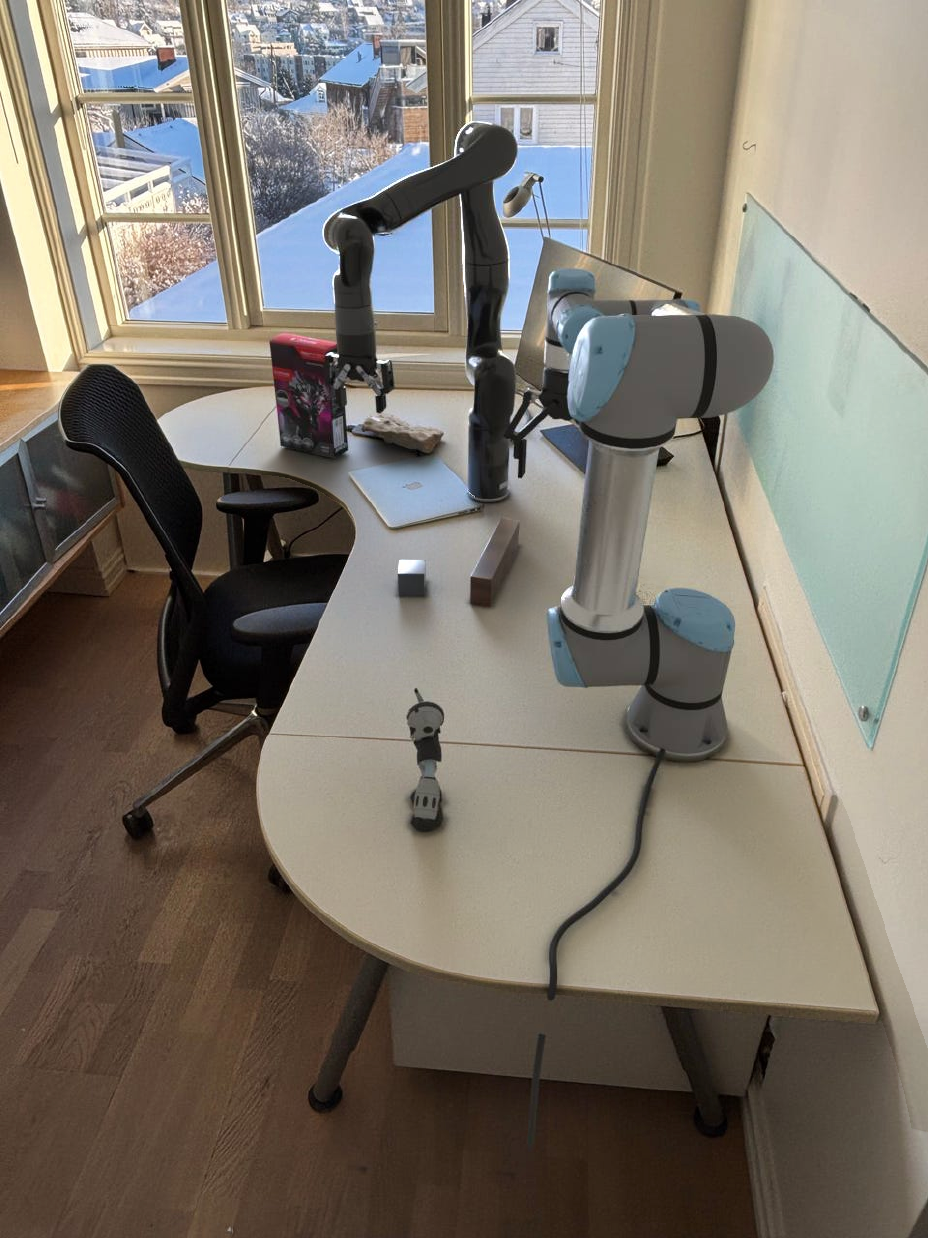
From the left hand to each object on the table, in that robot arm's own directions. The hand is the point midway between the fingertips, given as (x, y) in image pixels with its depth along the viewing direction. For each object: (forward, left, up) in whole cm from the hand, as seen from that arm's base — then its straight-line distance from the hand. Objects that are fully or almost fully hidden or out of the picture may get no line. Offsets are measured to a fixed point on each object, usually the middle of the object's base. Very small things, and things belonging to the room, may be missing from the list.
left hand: (361, 408), depth 184 cm
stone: (-44, +2, -26) cm, 51 cm away
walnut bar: (+19, +28, -26) cm, 43 cm away
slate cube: (+25, +12, -26) cm, 38 cm away
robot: (+83, +20, -26) cm, 90 cm away
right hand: (+20, +39, -5) cm, 44 cm away
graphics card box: (-38, -19, -26) cm, 50 cm away
